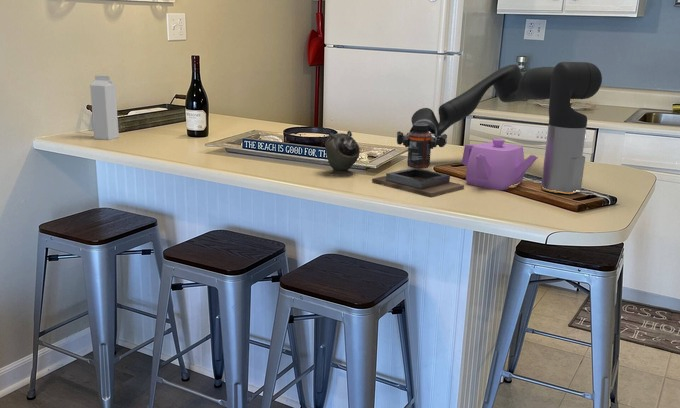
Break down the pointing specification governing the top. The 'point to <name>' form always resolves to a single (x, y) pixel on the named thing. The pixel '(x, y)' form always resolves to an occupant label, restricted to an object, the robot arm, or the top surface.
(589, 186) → the top surface
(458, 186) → the dock board
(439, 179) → the socket collar
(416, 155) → the supplement bottle
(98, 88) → the milk
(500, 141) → the teakettle
